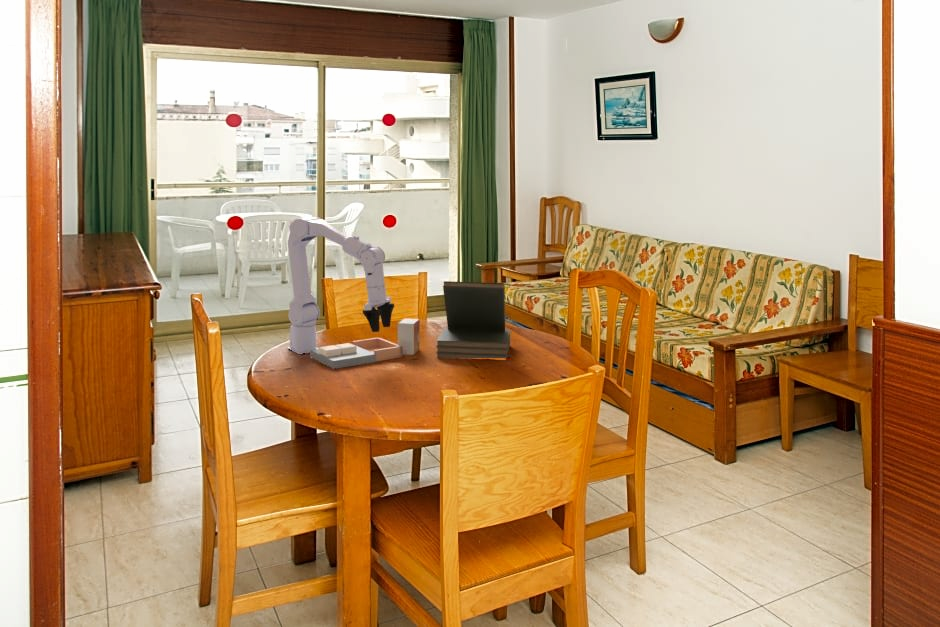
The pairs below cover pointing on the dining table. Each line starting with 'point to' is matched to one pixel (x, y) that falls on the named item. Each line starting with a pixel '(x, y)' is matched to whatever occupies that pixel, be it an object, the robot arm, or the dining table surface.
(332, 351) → the tile
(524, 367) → the dining table surface
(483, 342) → the open dark laptop
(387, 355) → the tray
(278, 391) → the dining table surface
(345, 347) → the tile
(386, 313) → the robot arm
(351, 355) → the board
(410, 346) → the small box
